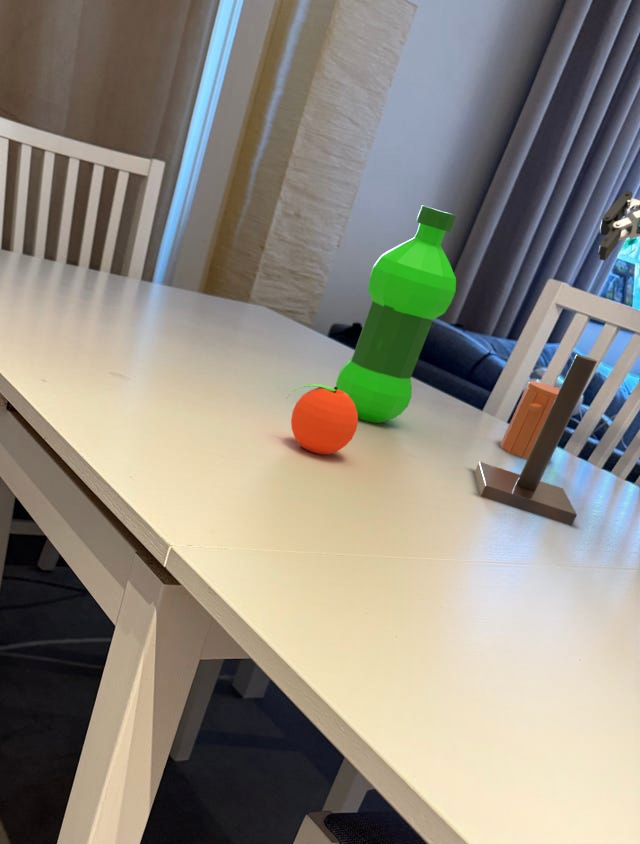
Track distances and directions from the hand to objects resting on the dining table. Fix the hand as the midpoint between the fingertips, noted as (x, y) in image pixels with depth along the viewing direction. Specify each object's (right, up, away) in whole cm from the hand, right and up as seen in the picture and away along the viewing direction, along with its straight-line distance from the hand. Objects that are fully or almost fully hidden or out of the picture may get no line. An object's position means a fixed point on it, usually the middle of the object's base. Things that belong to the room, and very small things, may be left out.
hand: (634, 264), depth 121 cm
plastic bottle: (-36, -21, -2) cm, 41 cm away
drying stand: (-22, -33, -18) cm, 44 cm away
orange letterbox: (-14, -25, +2) cm, 28 cm away
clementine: (-46, -29, -22) cm, 59 cm away
